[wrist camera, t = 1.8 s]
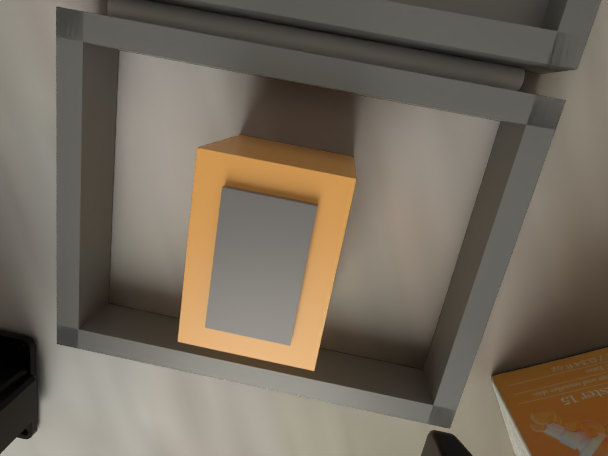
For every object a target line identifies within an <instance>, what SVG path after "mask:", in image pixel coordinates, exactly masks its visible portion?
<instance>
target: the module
mask: <svg viewBox="0 0 608 456" xmlns="http://www.w3.org/2000/svg"><path fill="white" fill-rule="evenodd" d="M355 184H356V171H355V164H354V157H352V156H347V155H342V154H337V153H332V152H327V151H321V150H316V149H311V148H306V147H301V146H296V145H290V144H285V143H280V142H275V141H270V140H265V139H259V138H254V137H249V136H244V135H237V136H234V137H230V138H227V139H224V140H221V141H217V142H214V143H211V144H208V145H204V146H201V147H198V148H197V154H196V164H195V174H194V184H193V194H192V203H191V213H190V223H189V233H188V243H187V253H186V263H185V273H184V283H183V293H182V303H181V313H180V323H179V333H178V342H181V343H186V344H190V345H195V346H200V347H204V348H209V349H214V350H218V351H223V352H228V353H232V354H237V355H242V356H246V357H251V358H255V359H260V360H265V361H269V362H274V363H279V364H283V365H288V366H293V367H297V368H302V369H307V370H311V371H314V369H315V365H316V360H317V356H318V351H319V347H320V342H321V338H322V333H323V329H324V324H325V320H326V315H327V311H328V306H329V301H330V297H331V292H332V288H333V283H334V279H335V274H336V270H337V265H338V261H339V256H340V252H341V247H342V242H343V238H344V233H345V229H346V224H347V220H348V215H349V211H350V206H351V202H352V197H353V193H354V188H355Z"/></svg>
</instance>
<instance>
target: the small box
mask: <svg viewBox="0 0 608 456" xmlns="http://www.w3.org/2000/svg"><path fill="white" fill-rule="evenodd" d="M491 380H492V384H493V387H494V390H495V393H496V396H497V399H498V402H499V405H500V408H501V411H502V414H503V418H504V421H505V424H506V427H507V430H508V433H509V436H510V439H511V443H512V446H513V449H514V452H515V455H516V456H608V347H607V348H603V349H599V350H595V351H591V352H587V353H584V354H580V355H576V356H572V357H568V358H564V359H560V360H556V361H552V362H548V363H544V364H540V365H536V366H531V367H527V368H523V369H519V370H515V371H511V372H507V373H501V374H497V375H494V376H492V377H491Z"/></svg>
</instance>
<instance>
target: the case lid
mask: <svg viewBox="0 0 608 456" xmlns="http://www.w3.org/2000/svg"><path fill="white" fill-rule="evenodd" d="M600 3H601V0H108V1H107V12H108V16H110V17H116V18H121V19H126V20H132V21H137V22H143V23H148V24H154V25H159V26H165V27H170V28H175V29H181V30H186V31H192V32H197V33H203V34H208V35H213V36H219V37H224V38H230V39H235V40H241V41H246V42H252V43H257V44H262V45H268V46H273V47H279V48H284V49H290V50H295V51H301V52H306V53H311V54H317V55H322V56H328V57H333V58H339V59H344V60H350V61H355V62H360V63H366V64H371V65H377V66H382V67H388V68H393V69H399V70H404V71H409V72H415V73H420V74H426V75H431V76H437V77H442V78H448V79H453V80H458V81H464V82H469V83H475V84H480V85H486V86H491V87H497V88H502V89H507V90H513V91H518V92H519V90H520V88H521V86H522V84H523V81H524V77H525V71H530V72H536V73H541V74H546V73H553V72H560V71H567V70H575V69H577V68H578V65H579V62H580V59H581V56H582V54H583V51H584V48H585V45H586V42H587V39H588V37H589V34H590V31H591V28H592V25H593V22H594V20H595V17H596V14H597V11H598V8H599V5H600Z"/></svg>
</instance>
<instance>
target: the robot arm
mask: <svg viewBox="0 0 608 456" xmlns="http://www.w3.org/2000/svg"><path fill="white" fill-rule="evenodd" d="M23 345H24V346H25V347H24V346H23ZM36 431H37V380H36V344H35V341H34V340H33V339H32V338H31V337H29V336H27V335H23V334H18V333H13V332H9V331H4V330H0V454H1V453H2V451H3V450H4V449H5V448H6V447H7V446H8V445H9V444H10V443H11V442H12V441H13V440H14V439H15V438H16V437H18V438H22V439H29V438H31V437H32V436H33V434H34V433H35V432H36ZM421 456H472V455H471V453H470V452H469V451H468V450H467V449H466V448H465V447H464V445H463V444H462V443H461V442H460V441H459V440H458V439H457V438H456V437H455V436H454V435H453V434H450V433H446V432H441V431H436V430H433V431H430V433H429V434H428V436H427V439H426V442H425V445H424V448H423V451H422V454H421Z"/></svg>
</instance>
